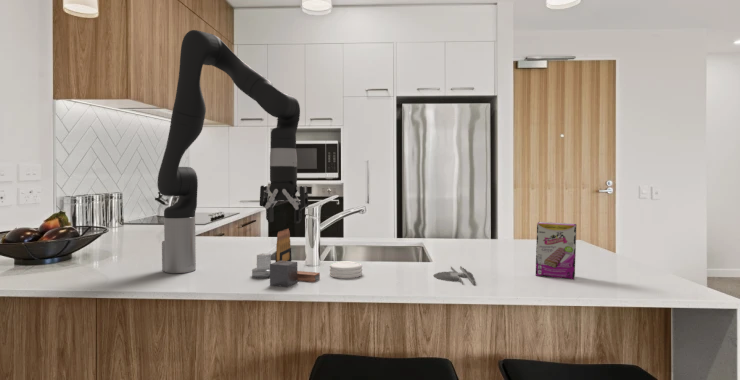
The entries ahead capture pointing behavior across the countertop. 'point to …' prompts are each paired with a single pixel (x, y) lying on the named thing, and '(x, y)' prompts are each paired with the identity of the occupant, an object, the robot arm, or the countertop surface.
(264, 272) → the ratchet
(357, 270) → the coaster
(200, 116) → the robot arm
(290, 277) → the socket
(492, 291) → the countertop surface
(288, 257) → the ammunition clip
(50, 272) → the countertop surface
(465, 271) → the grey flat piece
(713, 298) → the countertop surface
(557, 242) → the candy bar box
